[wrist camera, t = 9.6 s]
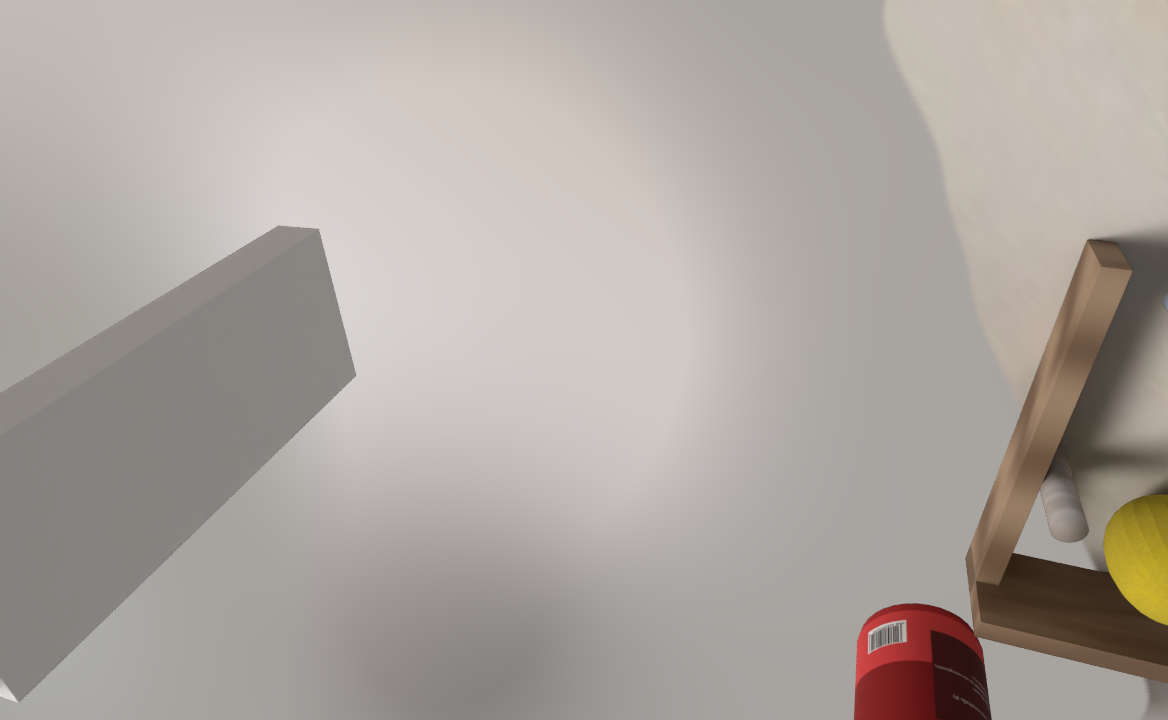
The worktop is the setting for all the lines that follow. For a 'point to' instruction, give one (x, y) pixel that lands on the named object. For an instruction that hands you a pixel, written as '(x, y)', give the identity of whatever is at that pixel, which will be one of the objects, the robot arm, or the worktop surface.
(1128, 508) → the lemon
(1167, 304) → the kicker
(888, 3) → the worktop surface
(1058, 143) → the worktop surface
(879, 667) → the canned food
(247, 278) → the robot arm
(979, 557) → the lane
